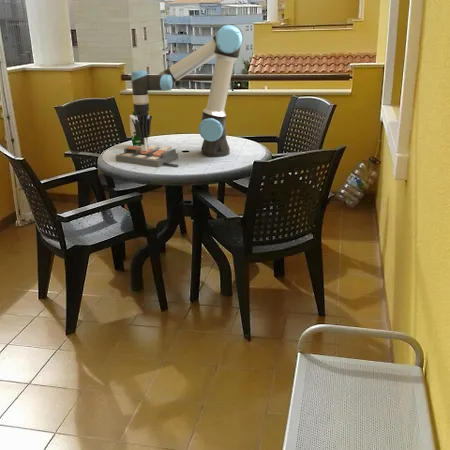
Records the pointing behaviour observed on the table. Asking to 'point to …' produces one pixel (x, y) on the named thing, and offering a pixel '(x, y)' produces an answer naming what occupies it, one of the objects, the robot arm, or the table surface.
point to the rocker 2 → (161, 151)
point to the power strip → (148, 157)
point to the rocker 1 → (134, 147)
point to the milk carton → (133, 133)
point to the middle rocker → (150, 149)
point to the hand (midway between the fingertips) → (144, 150)
